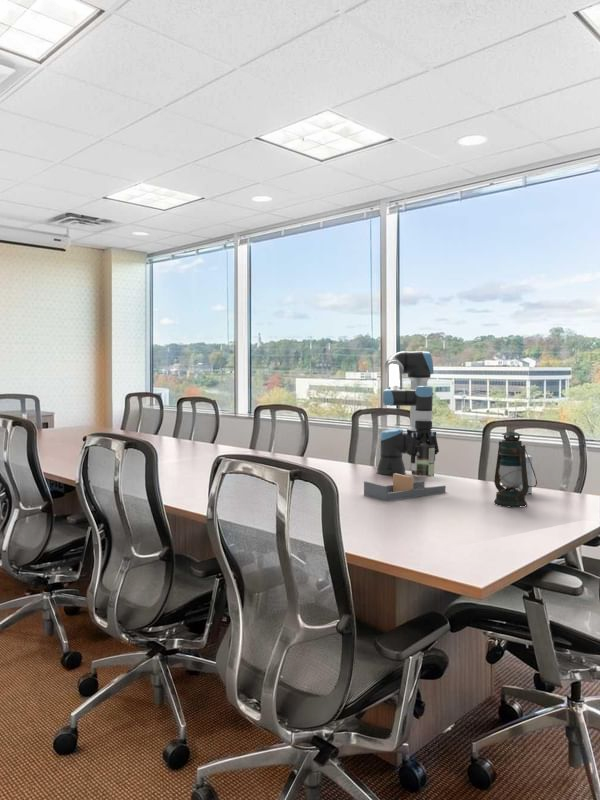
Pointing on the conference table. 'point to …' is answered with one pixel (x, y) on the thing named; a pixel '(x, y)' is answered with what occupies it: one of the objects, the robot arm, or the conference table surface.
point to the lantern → (511, 472)
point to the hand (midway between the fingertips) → (422, 469)
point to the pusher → (402, 482)
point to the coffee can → (425, 460)
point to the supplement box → (528, 474)
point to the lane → (382, 491)
